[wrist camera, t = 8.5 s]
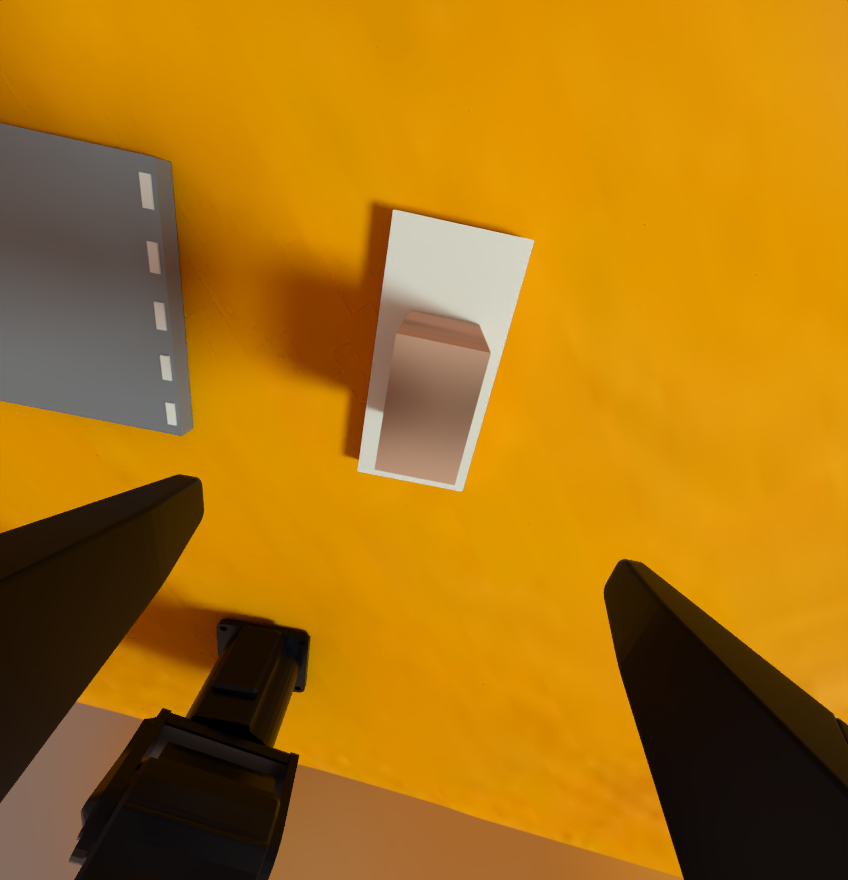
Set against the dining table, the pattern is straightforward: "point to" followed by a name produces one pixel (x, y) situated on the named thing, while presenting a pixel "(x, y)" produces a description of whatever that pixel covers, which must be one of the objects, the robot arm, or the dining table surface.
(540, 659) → the dining table surface
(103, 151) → the board
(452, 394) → the stub
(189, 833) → the robot arm
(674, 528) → the dining table surface
